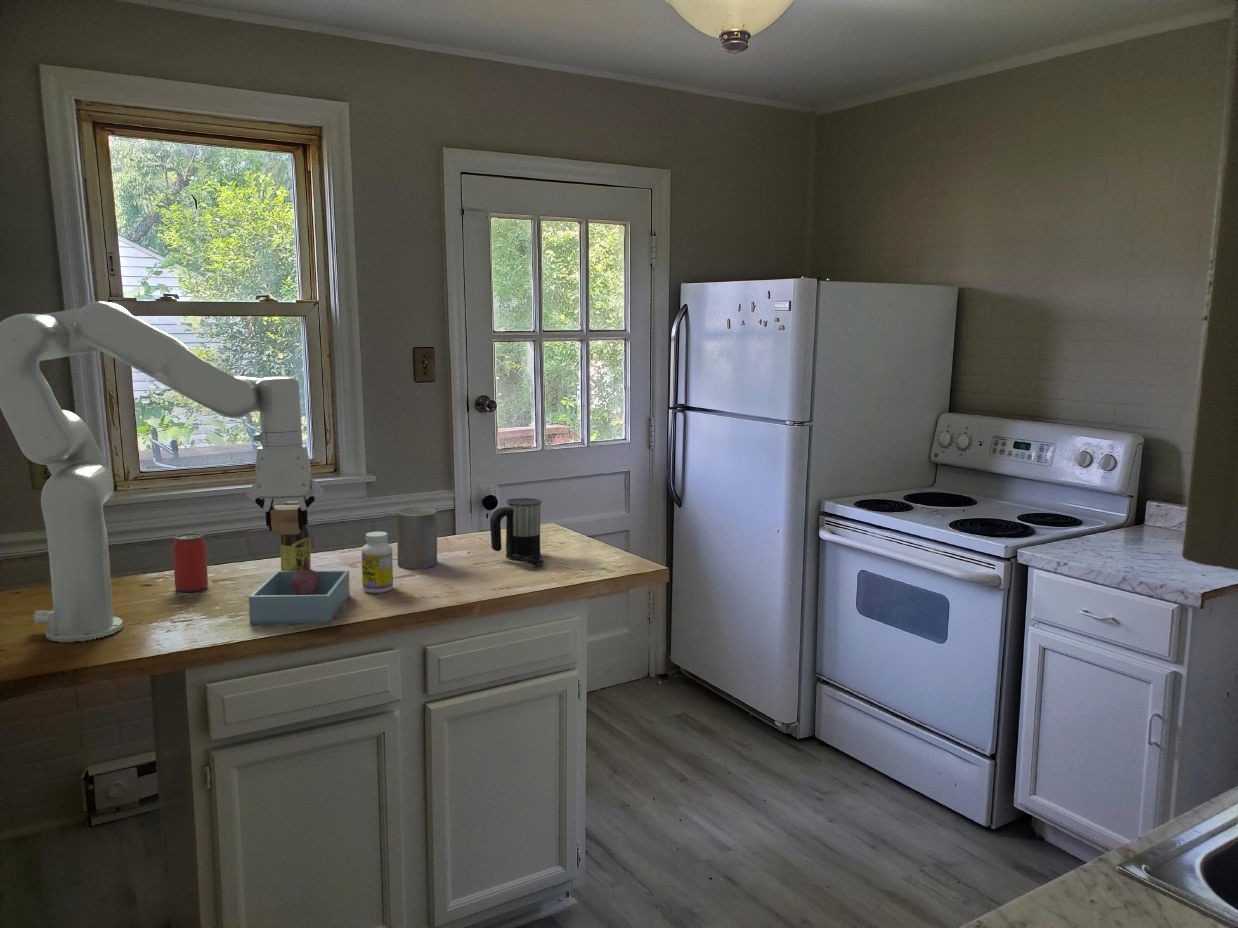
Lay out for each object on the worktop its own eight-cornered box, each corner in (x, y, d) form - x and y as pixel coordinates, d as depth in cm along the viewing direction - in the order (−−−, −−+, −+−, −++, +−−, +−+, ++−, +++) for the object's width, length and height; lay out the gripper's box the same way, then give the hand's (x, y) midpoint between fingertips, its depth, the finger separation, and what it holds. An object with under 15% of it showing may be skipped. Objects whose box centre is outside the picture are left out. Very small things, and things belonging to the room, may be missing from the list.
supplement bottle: (356, 589, 197) (355, 533, 195) (382, 583, 201) (381, 528, 200) (373, 595, 192) (371, 538, 190) (399, 589, 197) (397, 533, 195)
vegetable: (322, 602, 185) (320, 556, 183) (290, 605, 183) (289, 558, 181) (320, 594, 190) (319, 549, 189) (290, 597, 188) (288, 551, 187)
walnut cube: (277, 529, 178) (275, 505, 177) (302, 528, 179) (301, 504, 178) (271, 535, 173) (270, 510, 172) (298, 534, 174) (296, 509, 173)
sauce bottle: (301, 594, 192) (298, 505, 189) (275, 591, 194) (272, 503, 191) (317, 585, 199) (314, 499, 196) (292, 583, 200) (289, 498, 197)
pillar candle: (398, 560, 222) (396, 502, 219) (437, 558, 224) (436, 501, 221) (397, 570, 212) (395, 510, 210) (438, 568, 215) (437, 509, 212)
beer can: (213, 588, 195) (210, 536, 193) (182, 594, 190) (179, 541, 189) (201, 582, 200) (198, 531, 198) (170, 588, 195) (167, 535, 193)
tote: (250, 623, 173) (248, 596, 172) (277, 595, 191) (276, 571, 190) (330, 622, 174) (329, 595, 173) (349, 595, 192) (348, 570, 191)
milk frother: (523, 550, 234) (523, 495, 232) (568, 560, 224) (568, 503, 222) (484, 560, 223) (484, 503, 221) (529, 571, 213) (529, 512, 211)
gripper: (231, 443, 168) (238, 535, 171) (323, 441, 171) (328, 531, 174) (241, 438, 175) (247, 526, 178) (329, 436, 178) (334, 523, 181)
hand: (287, 528), depth 176 cm, fingers closed on walnut cube, 5 cm apart
